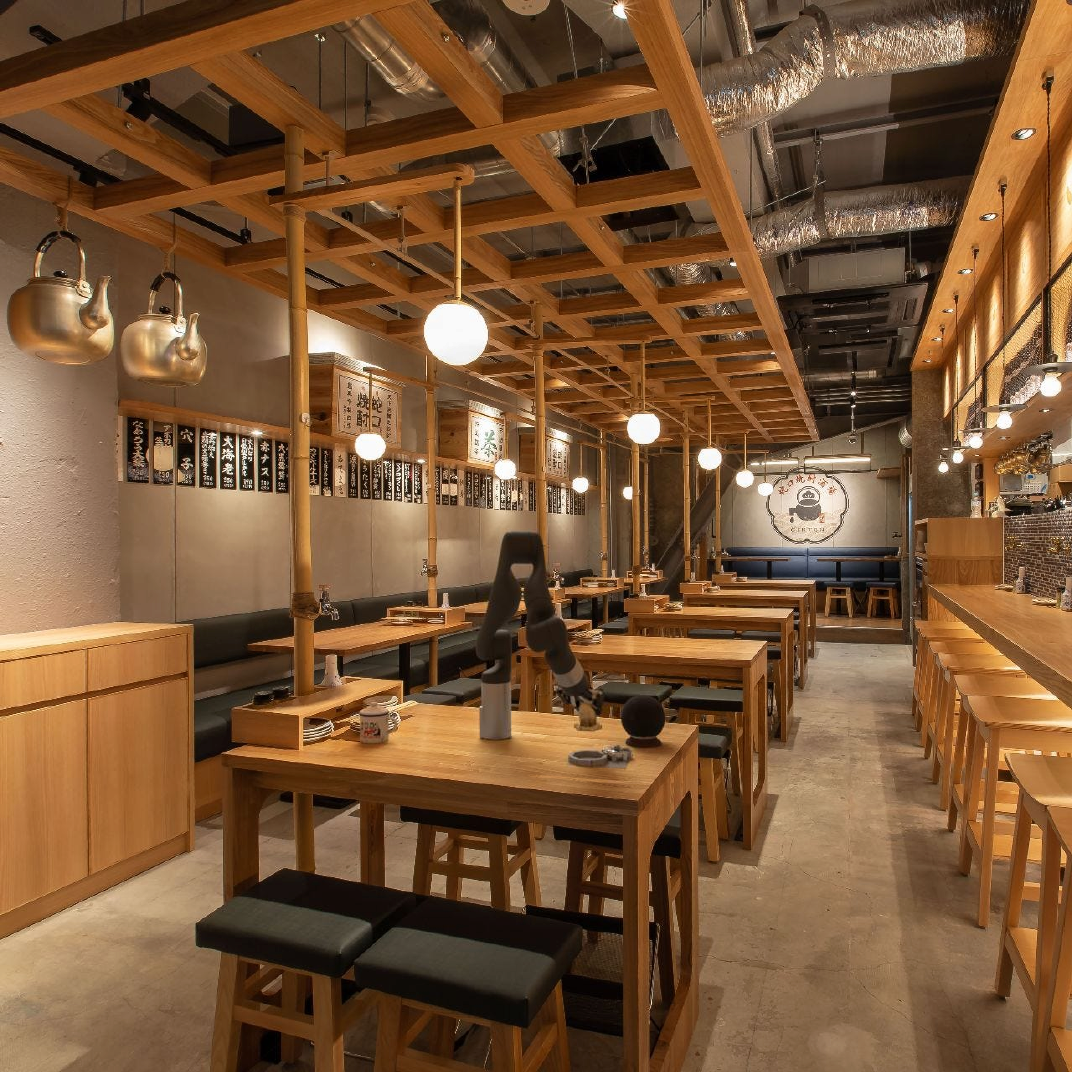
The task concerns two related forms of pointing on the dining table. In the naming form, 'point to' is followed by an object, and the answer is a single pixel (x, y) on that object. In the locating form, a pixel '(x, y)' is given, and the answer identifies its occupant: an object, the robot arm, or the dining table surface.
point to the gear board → (609, 764)
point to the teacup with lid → (375, 724)
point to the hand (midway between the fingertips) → (590, 712)
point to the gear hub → (587, 718)
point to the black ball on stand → (643, 721)
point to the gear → (618, 753)
